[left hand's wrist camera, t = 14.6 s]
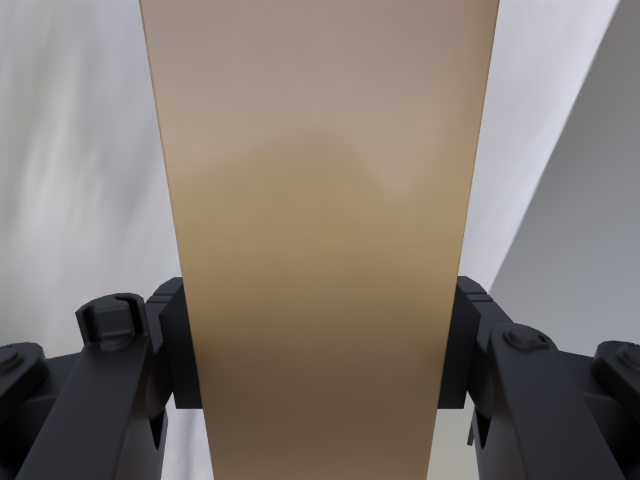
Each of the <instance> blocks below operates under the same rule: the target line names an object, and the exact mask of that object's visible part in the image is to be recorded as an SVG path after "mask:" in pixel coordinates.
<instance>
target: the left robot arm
mask: <svg viewBox="0 0 640 480" xmlns="http://www.w3.org/2000/svg"><path fill="white" fill-rule="evenodd" d="M75 314H76V317H77V321H78V324H79V328H80V331H81V335H82V338H83V342H84V347H83V349H82V351H81V352H79V353H75V354H70V355H65V356H60V357H54V358H49V359H46V357H45V354H44V351H43V348H42V347H41V346H40V345H38V344H37V343H29V342H24V343H17V344H9V345H6V346H2V347H0V480H161V473H162V465H163V457H164V449H165V442H166V434H167V426H168V417H167V412H166V407H165V406H166V404H167V402H168V400H169V398H170V396H171V394H172V392H173V395H174V400H175V405H176V409H203V405H202V399H201V393H200V386H199V380H198V373H197V367H196V361H195V354H194V348H193V342H192V335H191V329H190V322H189V316H188V310H187V303H186V297H185V290H184V284H183V278H182V277H174V278H172V279H170V280H169V281H167V282H165V283H163V284H162V285H160V287H159V288H158V289H157V290H156V291H155V292H154V293H153V296H151V297H150V298H149V299H148V300H147V301H146V303H144V300H143V298H142V297H141V296H139V295H138V294H133V293H116V294H112V295H107V296H103V297H100V298H97V299H95V300H92V301H90V302H88V303H87V304H85V305H83V306H82V307H81V308H80V309H78V310H77V311H76V312H75ZM467 391H468V393H469V395H470V397H471V399H472V400H473V402H474V404H475V407H474V412H473V416H472V421H471V426H470V431H469V436H468V443H467V445H470V446H472V444H473V439H474V441H475V448H476V456H477V464H478V472H479V479H480V480H640V345H638V344H636V345H635V344H634V343H630V342H621V341H605V342H602V343H601V344H599V345H598V347H597V350H596V353H595V356H594V357H589V356H584V355H578V354H573V353H568V352H563V351H559V350H558V349H557V347H556V345H555V344H554V342H553V341H552V340H551V339H550V338H549V337H548V336H546V335H545V334H543V333H542V332H540V331H538V330H536V329H534V328H531V327H529V326H525V325H521V324H517V323H513V321H512V320H511V319H510V318H509V317H508V316H507V315H506V314H505V312H504V311H503V310H502V309H501V308H500V307H499V306H498V305H497V303H496V302H494V300H493V299H492V298H491V297H490V296H489V295H487V292H486V291H485V290H484V289H483V288H482V287H481V285H480V284H479V283H477V282H475V281H473V280H472V279H470V278H468V277H466V276H457V282H456V289H455V295H454V302H453V308H452V315H451V322H450V328H449V335H448V341H447V348H446V354H445V361H444V367H443V374H442V380H441V387H440V393H439V400H438V407H437V409H463V408H464V403H465V398H466V393H467Z"/></svg>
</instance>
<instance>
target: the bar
mask: <svg viewBox="0 0 640 480" xmlns="http://www.w3.org/2000/svg"><path fill="white" fill-rule="evenodd" d="M499 1H500V0H139V3H140V10H141V16H142V22H143V29H144V35H145V42H146V48H147V54H148V61H149V67H150V74H151V80H152V86H153V93H154V99H155V105H156V112H157V118H158V125H159V131H160V137H161V144H162V150H163V156H164V163H165V169H166V176H167V182H168V188H169V195H170V201H171V208H172V214H173V220H174V227H175V233H176V239H177V246H178V252H179V259H180V265H181V271H182V278H183V284H184V290H185V297H186V303H187V310H188V316H189V322H190V329H191V335H192V342H193V348H194V354H195V361H196V367H197V373H198V380H199V386H200V393H201V399H202V405H203V412H204V418H205V425H206V431H207V437H208V444H209V450H210V456H211V463H212V469H213V476H214V480H426V479H427V472H428V465H429V459H430V452H431V446H432V439H433V433H434V426H435V420H436V413H437V407H438V400H439V393H440V387H441V380H442V374H443V367H444V361H445V354H446V348H447V341H448V335H449V328H450V322H451V315H452V308H453V302H454V295H455V289H456V282H457V276H458V269H459V263H460V256H461V250H462V243H463V237H464V230H465V223H466V217H467V210H468V204H469V197H470V191H471V184H472V178H473V171H474V165H475V158H476V151H477V145H478V138H479V132H480V125H481V119H482V112H483V106H484V99H485V93H486V86H487V80H488V73H489V66H490V60H491V53H492V47H493V40H494V34H495V27H496V21H497V14H498V8H499Z"/></svg>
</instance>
